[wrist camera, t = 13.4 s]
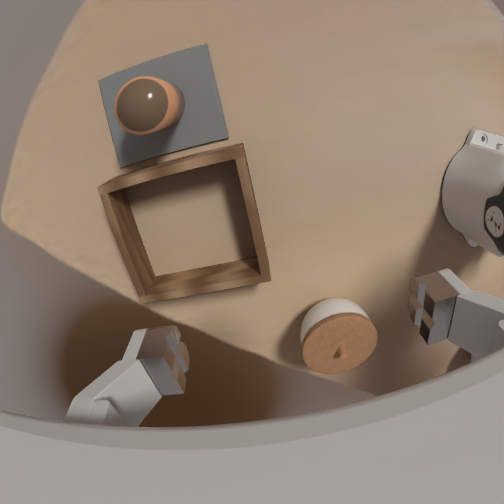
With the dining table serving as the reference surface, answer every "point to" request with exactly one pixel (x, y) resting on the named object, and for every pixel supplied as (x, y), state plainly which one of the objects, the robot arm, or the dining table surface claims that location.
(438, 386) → the robot arm
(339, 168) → the dining table surface
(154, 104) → the peach cylinder
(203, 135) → the slate mat
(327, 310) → the lidded jar
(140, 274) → the wooden frame
